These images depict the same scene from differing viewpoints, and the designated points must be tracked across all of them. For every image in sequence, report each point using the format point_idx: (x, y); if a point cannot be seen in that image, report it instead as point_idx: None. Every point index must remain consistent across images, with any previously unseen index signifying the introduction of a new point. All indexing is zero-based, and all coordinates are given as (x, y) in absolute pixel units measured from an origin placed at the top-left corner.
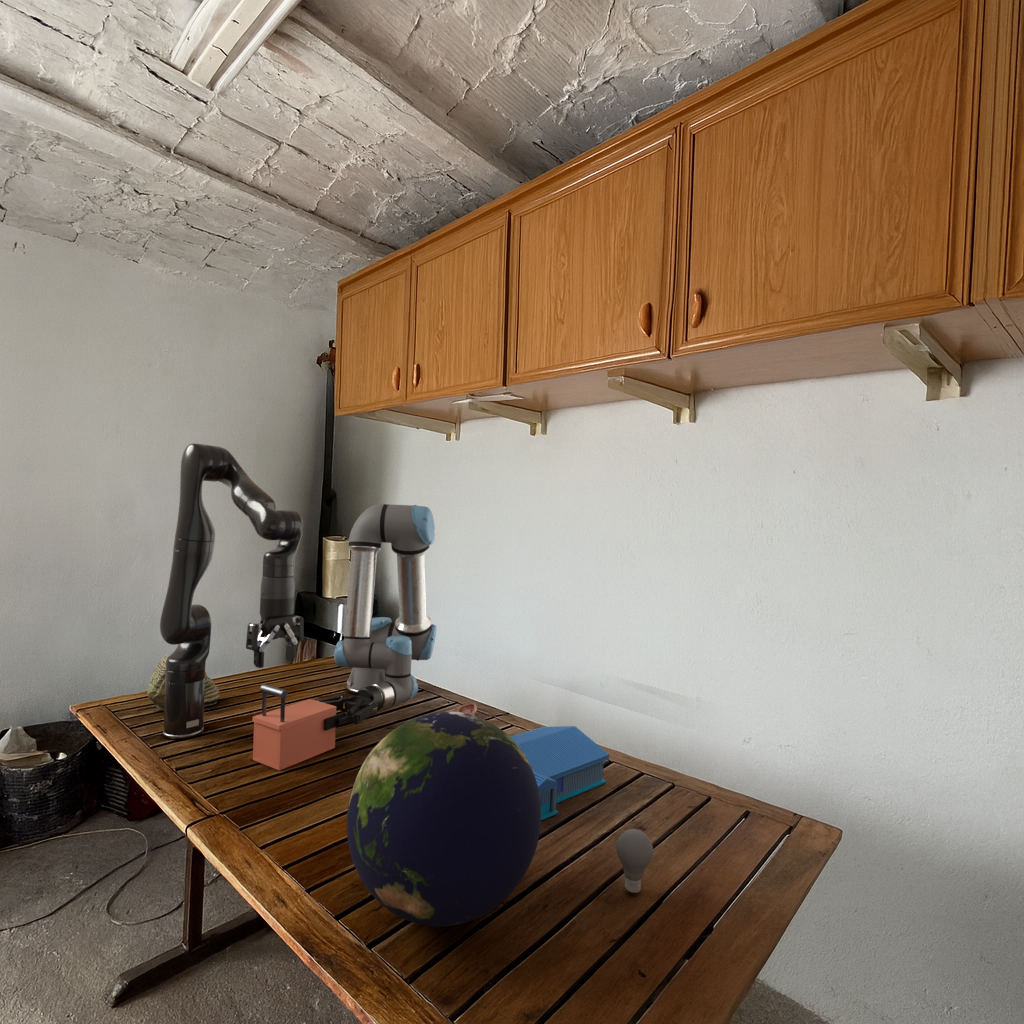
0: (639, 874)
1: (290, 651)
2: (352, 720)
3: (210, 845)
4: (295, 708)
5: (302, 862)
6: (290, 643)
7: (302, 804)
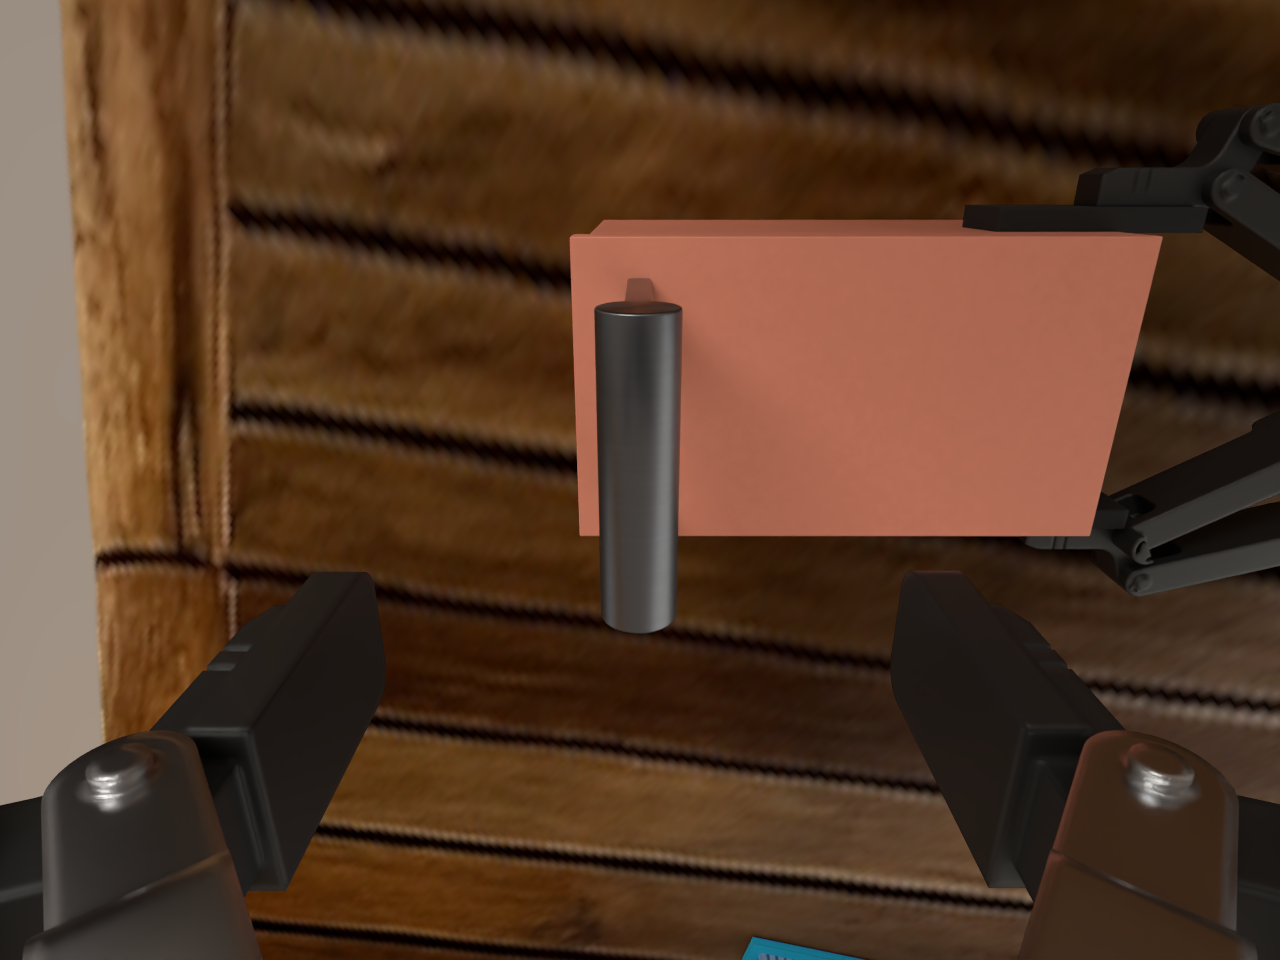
0: None
1: (948, 756)
2: (1099, 554)
3: (114, 713)
4: (897, 343)
5: (280, 936)
6: (1041, 859)
7: (477, 726)
